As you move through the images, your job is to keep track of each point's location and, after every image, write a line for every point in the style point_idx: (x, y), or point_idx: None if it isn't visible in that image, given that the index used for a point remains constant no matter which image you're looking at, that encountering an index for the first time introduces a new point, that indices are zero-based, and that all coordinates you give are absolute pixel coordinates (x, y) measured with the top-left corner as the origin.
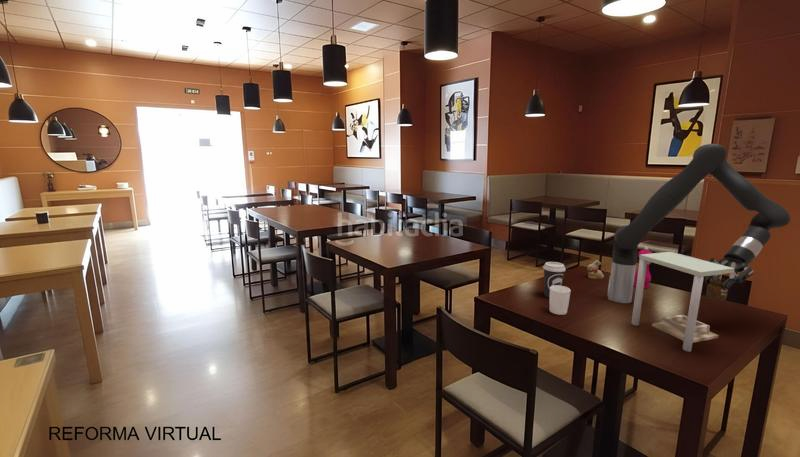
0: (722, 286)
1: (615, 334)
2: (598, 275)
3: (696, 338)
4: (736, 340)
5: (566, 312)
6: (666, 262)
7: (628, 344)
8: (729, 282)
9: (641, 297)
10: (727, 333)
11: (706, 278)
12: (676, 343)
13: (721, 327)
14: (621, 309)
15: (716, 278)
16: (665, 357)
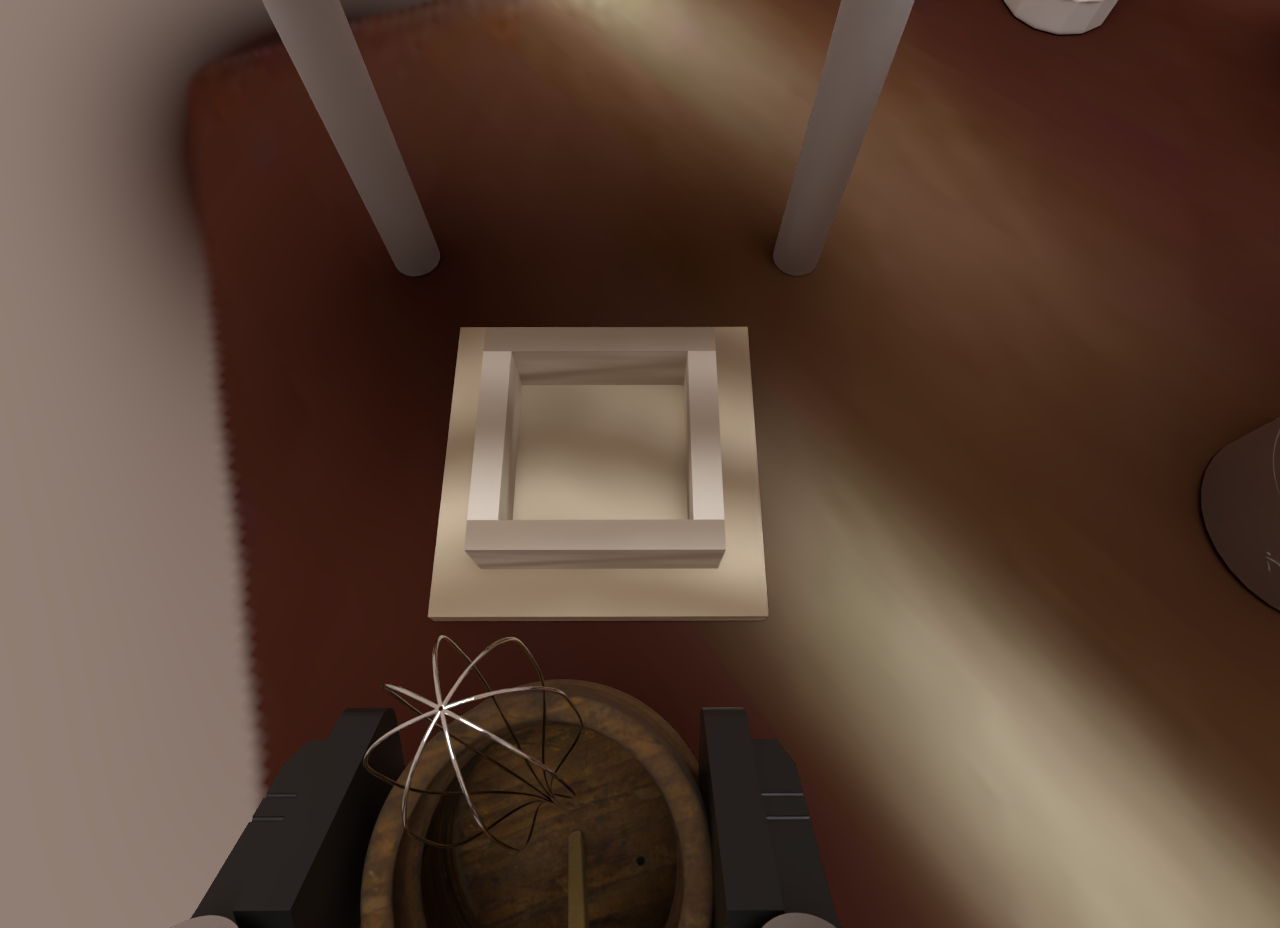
0: (377, 709)
1: (701, 71)
2: None
3: (463, 401)
4: None
5: (1018, 6)
6: None
7: (585, 51)
8: (255, 845)
9: (827, 59)
10: None
11: (749, 746)
12: (497, 272)
13: None
14: (1065, 370)
15: (479, 677)
16: (413, 102)
